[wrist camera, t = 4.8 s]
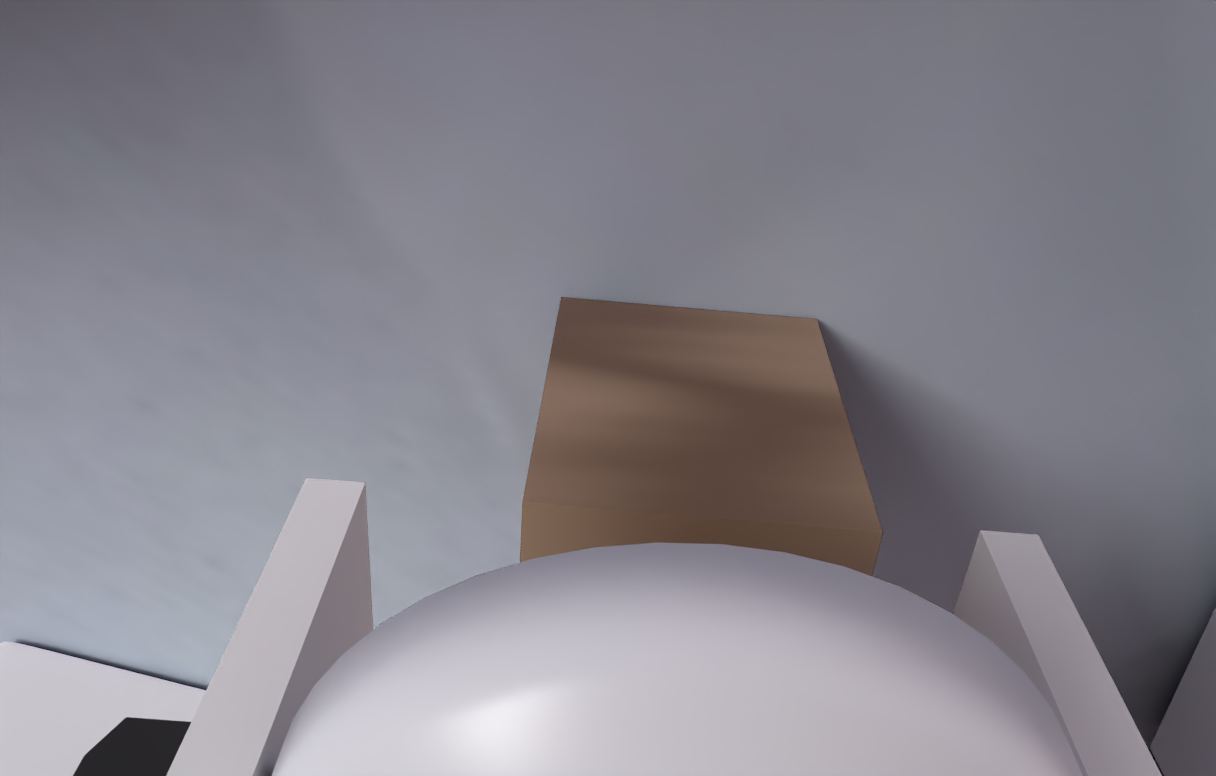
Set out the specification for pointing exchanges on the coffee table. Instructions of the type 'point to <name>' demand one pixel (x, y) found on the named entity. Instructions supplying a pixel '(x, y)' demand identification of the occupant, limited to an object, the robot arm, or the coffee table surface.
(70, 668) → the milk carton
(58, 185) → the coffee table surface
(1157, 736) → the drawer
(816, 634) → the disc
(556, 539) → the brown boxy piece
